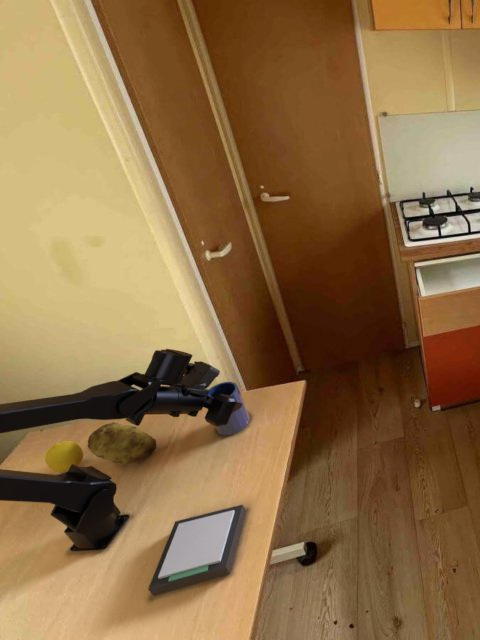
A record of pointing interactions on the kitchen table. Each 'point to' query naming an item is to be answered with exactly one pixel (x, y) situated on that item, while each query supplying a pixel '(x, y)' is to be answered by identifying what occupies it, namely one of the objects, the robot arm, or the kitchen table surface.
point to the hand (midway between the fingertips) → (231, 401)
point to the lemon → (63, 456)
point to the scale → (199, 550)
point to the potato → (121, 443)
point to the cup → (238, 417)
